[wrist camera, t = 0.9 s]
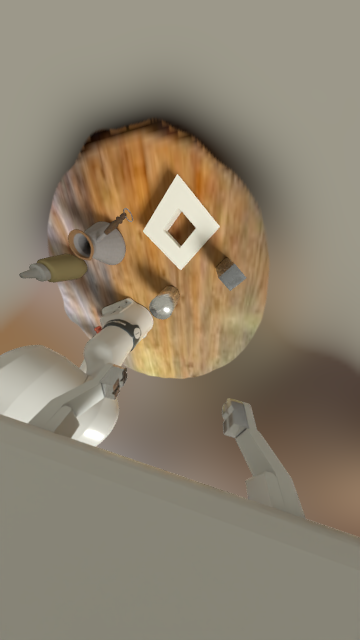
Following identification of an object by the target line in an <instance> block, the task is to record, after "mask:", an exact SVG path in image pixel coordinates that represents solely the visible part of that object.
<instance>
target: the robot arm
mask: <svg viewBox="0 0 360 640" xmlns="http://www.w3.org/2000/svg"><path fill="white" fill-rule="evenodd" d="M126 301H127V302H126ZM102 315H103V316H102V317H101V318H100V322H101V325H102V329H101V327H100V326H98V327H96V328H95V329H94V330H95V331H96V332H97V334H96V335H95V336H94V337H93V338H92V339H90V340H89V341H88V342H87V344H86V346H85V349H84V359H85V362H86V366H87V371H86V373H84V372H83V371H82V370H81V369H79V368H78V367H77V366H76V365H74V364H73V363H72V362H71V361H69V360H68V359H67V358H66V357H64V356H63V355H61V354H59V353H57V352H55V351H53V350H51V349H49V348H47V347H45V346H42V345H31V346H25V347H20V348H17V349H14V350H11V351H8V352H6V353H4V354H2V355H1V356H0V640H360V537H357V536H354V535H351V534H349V533H345V532H342V531H340V530H336V529H334V528H331V527H328V526H325V525H322V524H319V523H316V522H314V521H311V520H307V519H306V518H305V515H304V513H303V510H302V507H301V504H300V501H299V498H298V495H297V492H296V489H295V487H294V484H293V481H292V479H291V477H290V475H289V474H288V473H287V471H286V470H285V468H284V467H283V465H282V464H281V463H280V461H279V460H278V458H277V457H276V455H275V454H274V452H273V451H272V449H271V448H270V447H269V445H268V444H267V442H266V441H265V439H264V438H263V436H262V435H261V434H260V432H258V431H257V428H256V424H255V420H254V416H253V413H252V409H251V406H250V405H249V404H247V403H244V402H241V401H237V400H234V399H230V398H229V399H227V403H225V404H224V405H223V409H222V417H223V418H224V420H225V421H224V422H223V432H224V434H225V435H227V436H230V437H233V438H236V442H237V444H238V446H239V448H240V450H241V452H242V454H243V456H244V458H245V460H246V462H247V464H248V467H249V469H250V471H251V473H252V475H253V477H251V478H249V479H247V480H246V488H247V495H248V499H246V498H244V497H241V496H238V495H235V494H232V493H229V492H226V491H223V490H220V489H217V488H214V487H212V486H209V485H206V484H203V483H200V482H197V481H194V480H191V479H188V478H185V477H182V476H179V475H176V474H173V473H170V472H168V471H165V470H162V469H159V468H156V467H153V466H150V465H147V464H144V463H142V462H139V461H135V460H133V459H130V458H127V457H124V456H121V455H118V454H115V453H112V452H110V451H107V450H103V449H101V448H97V447H95V446H97V445H98V444H100V443H101V442H102V441H103V440H104V439H105V438H106V437H107V436H108V435H109V433H110V432H111V431H112V429H113V427H114V425H115V423H116V421H117V418H118V413H119V405H118V402H117V396H118V394H119V392H120V388H121V387H122V386H124V384H125V382H126V380H127V373H126V372H127V368H125V367H122V366H121V365H122V363H123V361H124V360H125V358H126V357H127V355H128V353H129V352H130V351H132V350H133V349H134V348H135V346H136V345H137V344H138V343H139V342H140V341H141V339H142V338H145V337H146V335H147V333H148V331H150V330H151V328H152V326H153V318H152V316H151V314H150V312H149V311H148V310H147V309H146V308H145V307H143V306H142V305H140V304H137V303H136V302H135V301H133V300H132V299H131V298H126V299H124V300H121V301H119V302H116V303H114V304H112V305H109V306H107V307H104V308H103V309H102Z"/></svg>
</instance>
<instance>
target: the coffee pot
mask: <svg viewBox="0 0 360 640" xmlns="http://www.w3.org/2000/svg"><path fill="white" fill-rule="evenodd" d="M125 209H126V210H128V209H127V208H125ZM125 209H123V212H124V210H125ZM128 211H129V210H128ZM129 212H130V211H129ZM130 214H131V212H130ZM126 216H127V215H126V213H122V214H121V215H120V217H118V216H117V217H116V220H114V221H113V222H111V223H107V222H97V223H95V224H94V225H92V226H91V227H90V228H88V229H87V230H86V231H84V232H83V231H81V230H76V229H75V230H72V231H71V232H70V233H69V235H68V242H69V245H70V248H71V250H72V251H73V253H74V254H75V255H76V256H77V257H79V258H81V259H83V260H91V259H92V258H94V259H96V260H99V261H101V262H103V263H106V264H109V265H116V264H118V263H120V262H121V261H122V260H123V258H124V256H125V251H126V247H125V242H124V239H123V237H122V235H121V233H120V232H119V231H118V230H117V229H116V228H117V226H118V225H119V223H120V224H121V223H122V220H124V219H125V218H126V219H127V217H126ZM131 216H132V214H131ZM127 220H128V219H127ZM128 221H129V220H128ZM132 221H133V216H132ZM132 221H129V222H132Z"/></svg>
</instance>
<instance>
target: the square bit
mask: <svg viewBox="0 0 360 640" xmlns="http://www.w3.org/2000/svg"><path fill="white" fill-rule="evenodd" d="M216 271H217V274H218V278H219V279H220V280H221V281H222V282H223V283H224V284H225V286H226V287H227V288H228V289H229V290H230V291H231V290H232V289H233V288H234V287H236V286H237V285H238V284H239V283H241V282H242V281H243V280H245V279H246V277H245V276H244V274H243V273H242V272H241V271H240V270H239V268H238V267H237V266H236V265H235V264H234V263H233V262H232V261H231V260H230V259H228V258H227V257H226V258H225V259H224V260H223V261H222V262H221V263H220V264H219V265H218V266H217V267H216Z"/></svg>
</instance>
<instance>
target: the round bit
mask: <svg viewBox="0 0 360 640" xmlns="http://www.w3.org/2000/svg"><path fill="white" fill-rule="evenodd" d="M179 298H180V294H179V291H178V290H177V289H176V288H175V287H173V286H167V287H165V288H164V289H163V290H162V291H161V292H160V293H159V294H158V295H157V296H156V297H155V298H154V299H153V300H152V301H151V303H150V306H149V308H150V312H151V313H152V315H153V316H154V317H156V318H158V319H167V318H168V317H170V315H171V313H172V311H173V310H174V308H175V306H176V304H177V302H178V300H179Z"/></svg>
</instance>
